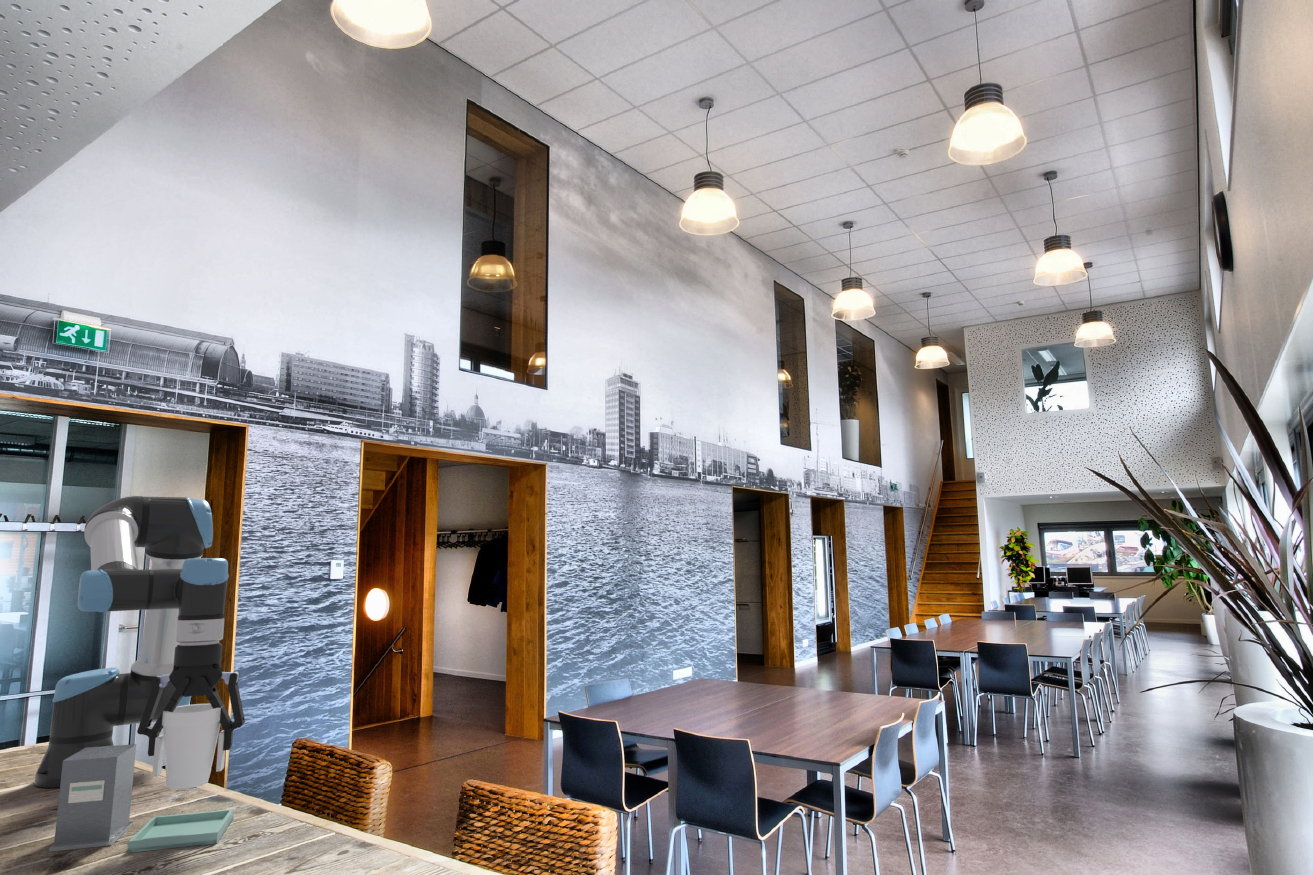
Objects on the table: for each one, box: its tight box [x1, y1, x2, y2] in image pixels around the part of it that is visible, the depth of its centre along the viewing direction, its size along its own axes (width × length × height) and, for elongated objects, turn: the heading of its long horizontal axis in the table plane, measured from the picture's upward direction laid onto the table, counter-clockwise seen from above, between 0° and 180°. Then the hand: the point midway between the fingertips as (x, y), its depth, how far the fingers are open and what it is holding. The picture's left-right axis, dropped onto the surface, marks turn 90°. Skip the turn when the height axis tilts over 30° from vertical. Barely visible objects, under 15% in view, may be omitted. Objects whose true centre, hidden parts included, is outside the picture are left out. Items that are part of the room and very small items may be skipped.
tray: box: [127, 808, 235, 854], centre depth 136 cm, size 13×13×2 cm
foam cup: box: [162, 703, 222, 790], centre depth 138 cm, size 10×9×13 cm
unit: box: [48, 743, 137, 853], centre depth 136 cm, size 11×9×14 cm
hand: (188, 771), depth 138 cm, fingers closed on foam cup, 9 cm apart
